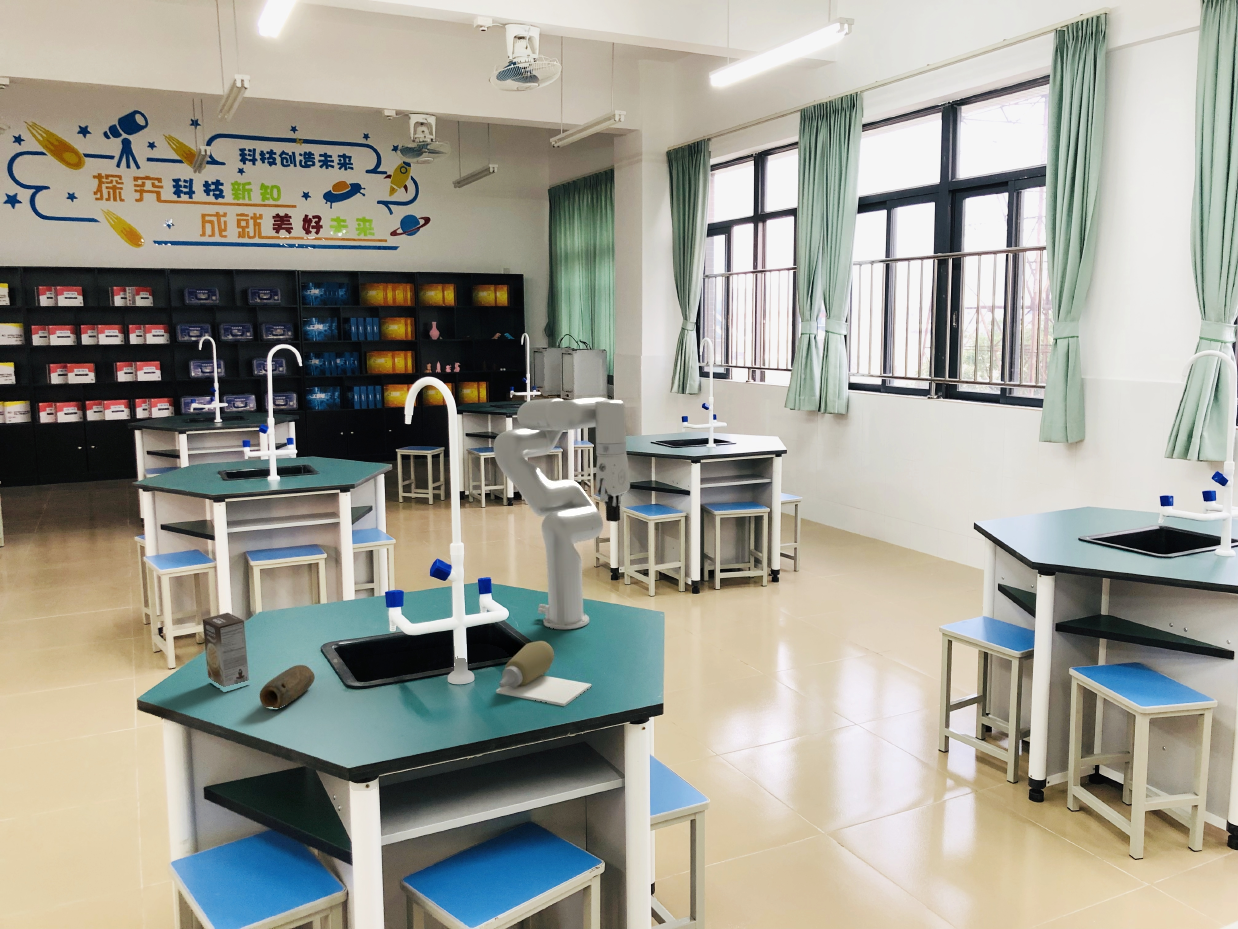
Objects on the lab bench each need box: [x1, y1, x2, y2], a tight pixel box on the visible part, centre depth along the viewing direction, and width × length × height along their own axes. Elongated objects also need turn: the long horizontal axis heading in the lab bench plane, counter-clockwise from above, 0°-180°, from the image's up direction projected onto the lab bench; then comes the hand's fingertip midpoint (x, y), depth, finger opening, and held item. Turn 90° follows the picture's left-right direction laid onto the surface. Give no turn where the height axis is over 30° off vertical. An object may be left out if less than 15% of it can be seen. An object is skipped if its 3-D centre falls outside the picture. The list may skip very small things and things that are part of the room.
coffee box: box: [201, 612, 250, 687], centre depth 222 cm, size 9×6×16 cm
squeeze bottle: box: [498, 640, 555, 688], centre depth 217 cm, size 8×8×18 cm
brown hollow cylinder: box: [259, 664, 316, 709], centre depth 212 cm, size 15×7×7 cm, turn 174°
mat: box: [495, 674, 593, 707], centre depth 214 cm, size 18×12×1 cm, turn 62°
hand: (613, 520), depth 240 cm, fingers closed
